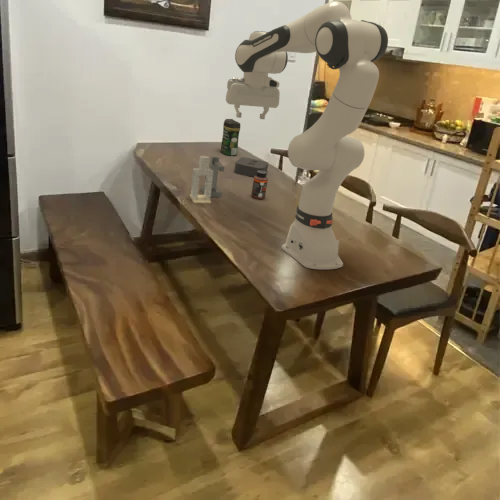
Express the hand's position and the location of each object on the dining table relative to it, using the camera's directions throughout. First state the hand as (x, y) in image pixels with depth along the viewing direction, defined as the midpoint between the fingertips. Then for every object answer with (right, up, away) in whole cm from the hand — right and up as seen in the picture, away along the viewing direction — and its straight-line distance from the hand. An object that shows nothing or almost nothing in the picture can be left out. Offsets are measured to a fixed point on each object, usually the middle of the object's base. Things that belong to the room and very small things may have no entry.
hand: (250, 118), depth 183 cm
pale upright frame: (-20, -29, +13) cm, 37 cm away
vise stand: (-15, -27, +19) cm, 37 cm away
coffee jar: (-12, +3, +85) cm, 86 cm away
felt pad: (-20, -29, +13) cm, 38 cm away
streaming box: (0, -11, +59) cm, 60 cm away
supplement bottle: (+3, -27, +26) cm, 38 cm away
